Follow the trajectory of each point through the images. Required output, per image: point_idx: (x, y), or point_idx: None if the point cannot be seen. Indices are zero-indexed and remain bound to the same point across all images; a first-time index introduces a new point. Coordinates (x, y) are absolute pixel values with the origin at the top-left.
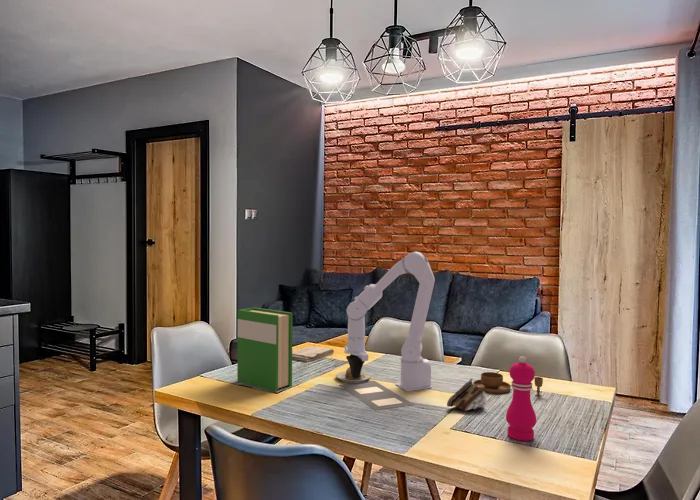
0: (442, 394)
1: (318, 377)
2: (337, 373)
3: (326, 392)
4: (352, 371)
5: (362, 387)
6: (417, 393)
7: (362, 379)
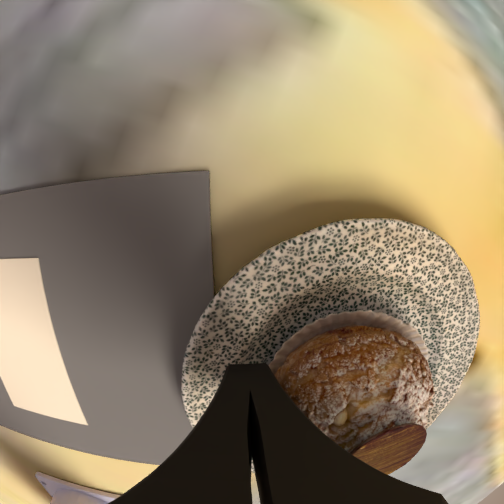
0: (23, 500)
1: (483, 115)
2: (468, 273)
3: (70, 21)
4: (229, 401)
5: (78, 344)
6: (17, 472)
7: None
